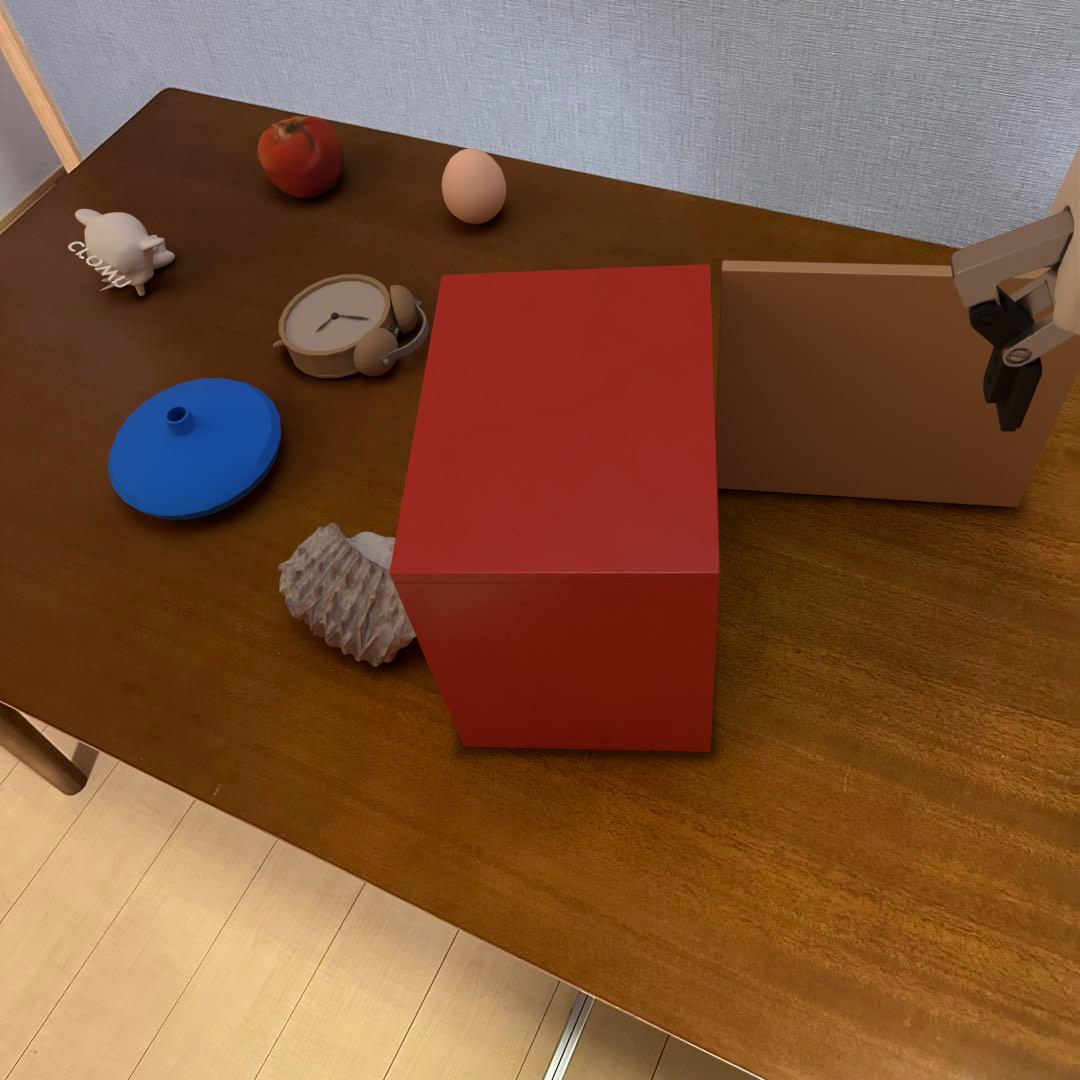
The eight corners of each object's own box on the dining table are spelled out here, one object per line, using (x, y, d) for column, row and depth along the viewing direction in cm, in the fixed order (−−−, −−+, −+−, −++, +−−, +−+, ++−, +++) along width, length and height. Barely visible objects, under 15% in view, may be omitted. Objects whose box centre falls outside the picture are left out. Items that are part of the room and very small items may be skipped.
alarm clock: (306, 269, 105) (435, 269, 99) (328, 307, 109) (453, 308, 103) (255, 349, 99) (389, 353, 93) (280, 385, 103) (409, 392, 97)
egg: (497, 242, 109) (485, 178, 102) (439, 233, 111) (424, 169, 104) (519, 201, 112) (509, 136, 106) (463, 193, 114) (450, 129, 107)
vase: (275, 380, 101) (250, 326, 95) (305, 501, 92) (280, 450, 86) (115, 431, 100) (80, 380, 94) (130, 559, 91) (93, 511, 85)
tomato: (273, 166, 121) (249, 103, 114) (351, 153, 120) (332, 89, 114) (269, 217, 115) (244, 155, 109) (351, 204, 115) (331, 140, 108)
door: (719, 415, 92) (729, 191, 73) (1009, 430, 88) (1102, 195, 68) (713, 488, 88) (721, 270, 68) (1017, 507, 83) (1119, 280, 64)
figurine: (133, 257, 117) (56, 287, 110) (120, 183, 112) (38, 210, 105) (209, 290, 112) (134, 323, 106) (200, 214, 107) (119, 244, 100)
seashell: (480, 591, 81) (391, 565, 73) (424, 695, 82) (330, 680, 74) (373, 514, 90) (284, 483, 82) (324, 608, 91) (231, 587, 83)
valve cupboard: (704, 484, 88) (710, 263, 69) (710, 752, 75) (720, 573, 55) (494, 487, 91) (441, 274, 71) (463, 747, 77) (388, 573, 58)
